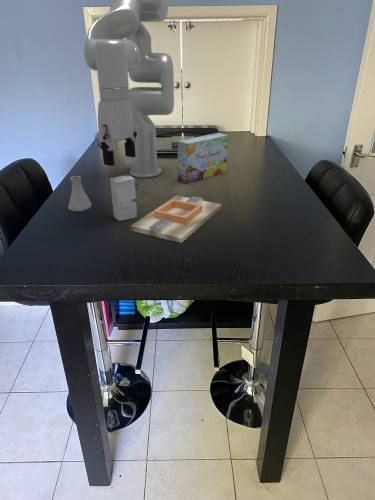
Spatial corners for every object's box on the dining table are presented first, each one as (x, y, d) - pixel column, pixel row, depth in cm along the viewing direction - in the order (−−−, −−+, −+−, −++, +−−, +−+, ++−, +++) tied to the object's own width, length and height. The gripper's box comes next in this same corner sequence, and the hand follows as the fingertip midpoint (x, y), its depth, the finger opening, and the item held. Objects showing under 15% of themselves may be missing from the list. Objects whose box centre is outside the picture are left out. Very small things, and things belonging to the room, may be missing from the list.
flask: (96, 205, 122) (92, 175, 117) (83, 213, 116) (79, 182, 111) (76, 202, 124) (72, 172, 119) (63, 210, 118) (58, 179, 113)
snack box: (187, 184, 139) (186, 143, 132) (177, 180, 143) (176, 140, 135) (226, 172, 151) (228, 134, 144) (216, 169, 155) (218, 131, 148)
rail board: (131, 230, 106) (130, 219, 104) (176, 199, 126) (176, 189, 124) (181, 243, 99) (181, 231, 97) (220, 208, 119) (221, 198, 117)
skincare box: (119, 221, 111) (115, 182, 105) (113, 216, 114) (108, 177, 108) (138, 217, 114) (135, 178, 108) (131, 212, 117) (128, 174, 111)
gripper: (122, 90, 105) (127, 152, 113) (80, 97, 92) (89, 166, 100) (145, 92, 102) (148, 155, 110) (104, 99, 89) (111, 170, 97)
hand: (120, 160), depth 105 cm, fingers open, 9 cm apart
